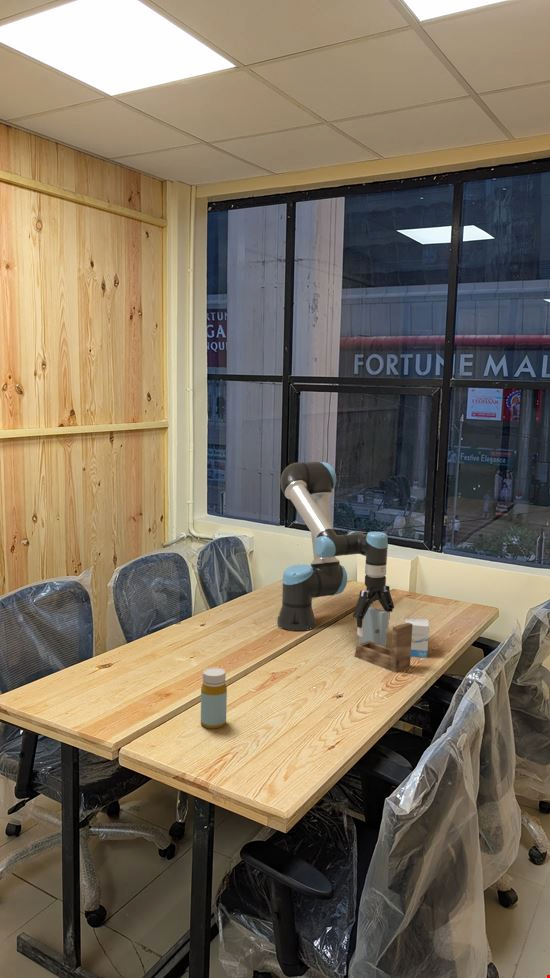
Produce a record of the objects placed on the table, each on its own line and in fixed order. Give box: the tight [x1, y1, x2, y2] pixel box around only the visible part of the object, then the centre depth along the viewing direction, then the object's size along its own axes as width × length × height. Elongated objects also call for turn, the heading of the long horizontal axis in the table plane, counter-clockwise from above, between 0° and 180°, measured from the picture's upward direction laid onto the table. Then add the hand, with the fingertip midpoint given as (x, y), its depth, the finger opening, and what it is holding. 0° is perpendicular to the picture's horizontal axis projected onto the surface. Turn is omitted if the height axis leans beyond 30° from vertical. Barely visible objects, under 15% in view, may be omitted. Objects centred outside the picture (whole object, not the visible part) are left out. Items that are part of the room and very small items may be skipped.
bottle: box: [200, 666, 228, 730], centre depth 194 cm, size 7×7×15 cm
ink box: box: [404, 617, 430, 658], centre depth 253 cm, size 9×8×12 cm
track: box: [354, 622, 412, 673], centre depth 243 cm, size 18×8×15 cm, turn 42°
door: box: [358, 605, 388, 647], centre depth 257 cm, size 10×4×14 cm, turn 42°
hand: (373, 632), depth 258 cm, fingers open, 13 cm apart
